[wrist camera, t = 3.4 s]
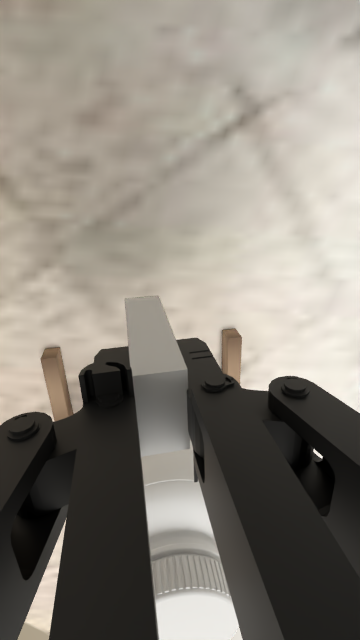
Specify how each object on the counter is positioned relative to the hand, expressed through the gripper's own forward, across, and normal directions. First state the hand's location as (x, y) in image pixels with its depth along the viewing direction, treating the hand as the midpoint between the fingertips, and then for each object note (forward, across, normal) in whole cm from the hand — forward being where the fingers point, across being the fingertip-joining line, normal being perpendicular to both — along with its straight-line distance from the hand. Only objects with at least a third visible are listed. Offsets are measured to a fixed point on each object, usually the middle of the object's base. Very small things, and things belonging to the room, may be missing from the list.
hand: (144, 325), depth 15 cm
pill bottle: (+9, 0, -10) cm, 14 cm away
